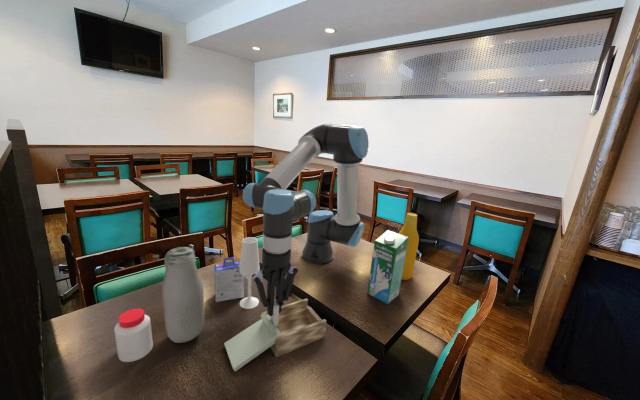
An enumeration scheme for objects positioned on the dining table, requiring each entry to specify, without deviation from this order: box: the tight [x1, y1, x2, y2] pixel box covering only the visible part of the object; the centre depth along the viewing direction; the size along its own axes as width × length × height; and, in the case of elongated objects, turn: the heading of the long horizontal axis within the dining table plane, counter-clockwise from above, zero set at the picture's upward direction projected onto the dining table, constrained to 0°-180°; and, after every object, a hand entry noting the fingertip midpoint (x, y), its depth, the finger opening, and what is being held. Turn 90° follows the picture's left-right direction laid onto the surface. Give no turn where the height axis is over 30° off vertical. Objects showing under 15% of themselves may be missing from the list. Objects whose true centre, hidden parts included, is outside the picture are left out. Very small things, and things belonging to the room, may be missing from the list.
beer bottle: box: [398, 212, 420, 281], centre depth 117 cm, size 9×9×29 cm
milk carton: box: [367, 229, 409, 305], centre depth 102 cm, size 9×9×25 cm
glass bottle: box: [161, 246, 205, 344], centre depth 73 cm, size 10×10×28 cm
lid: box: [223, 313, 282, 372], centre depth 73 cm, size 14×9×4 cm
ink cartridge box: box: [214, 256, 245, 303], centre depth 95 cm, size 10×6×14 cm, turn 113°
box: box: [260, 297, 327, 358], centre depth 81 cm, size 16×12×6 cm
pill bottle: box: [113, 308, 154, 363], centre depth 70 cm, size 8×8×11 cm
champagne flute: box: [239, 236, 261, 310], centre depth 91 cm, size 7×7×24 cm
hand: (273, 322), depth 76 cm, fingers closed
